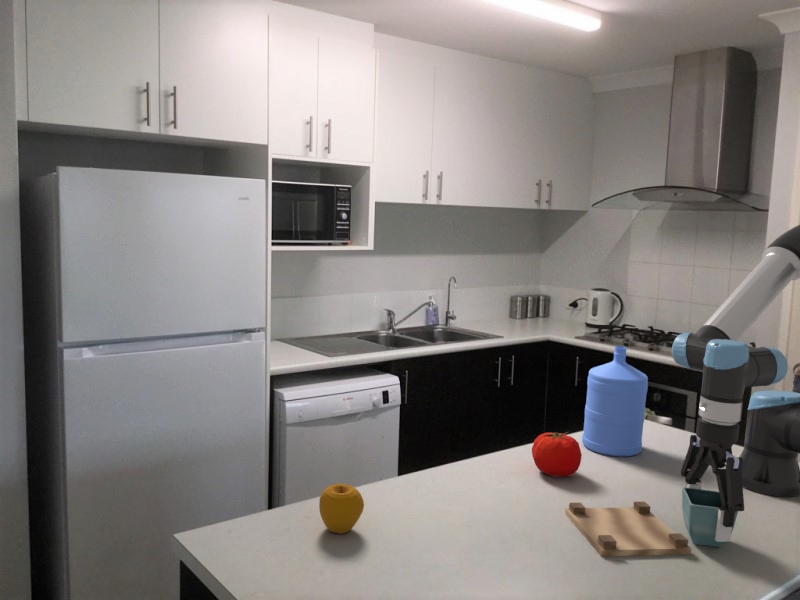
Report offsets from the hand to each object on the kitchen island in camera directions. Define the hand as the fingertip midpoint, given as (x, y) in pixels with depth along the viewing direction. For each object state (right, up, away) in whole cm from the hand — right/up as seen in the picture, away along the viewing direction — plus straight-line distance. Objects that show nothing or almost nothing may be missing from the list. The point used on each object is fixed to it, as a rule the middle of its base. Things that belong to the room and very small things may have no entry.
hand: (706, 527), depth 139 cm
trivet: (-15, -2, +2) cm, 16 cm away
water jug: (-3, +4, +53) cm, 53 cm away
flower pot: (0, -3, 0) cm, 3 cm away
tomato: (-23, +3, +32) cm, 39 cm away
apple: (-72, 0, -2) cm, 73 cm away
